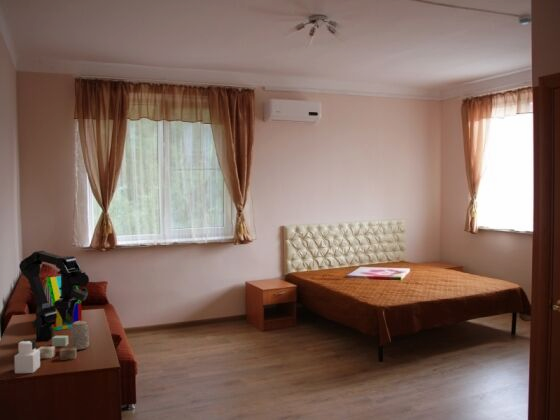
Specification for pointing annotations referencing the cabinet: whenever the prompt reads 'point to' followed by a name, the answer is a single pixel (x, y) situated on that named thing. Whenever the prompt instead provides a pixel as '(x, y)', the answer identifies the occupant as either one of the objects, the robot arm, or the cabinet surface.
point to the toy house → (52, 296)
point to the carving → (80, 335)
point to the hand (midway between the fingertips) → (67, 317)
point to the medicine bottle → (27, 357)
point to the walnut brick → (68, 353)
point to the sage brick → (60, 341)
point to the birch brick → (47, 352)
